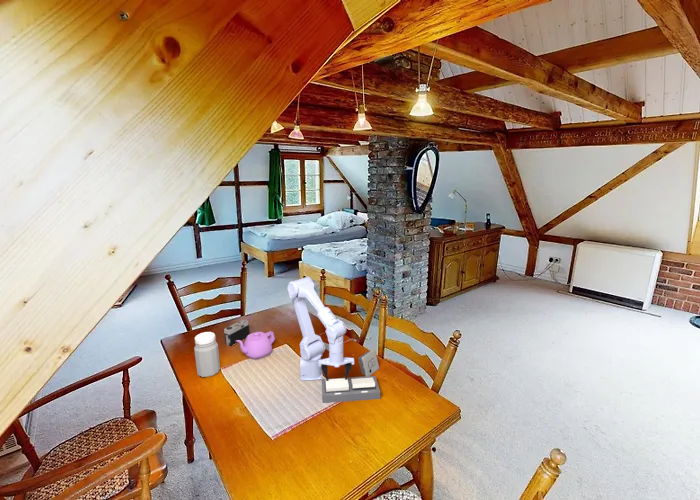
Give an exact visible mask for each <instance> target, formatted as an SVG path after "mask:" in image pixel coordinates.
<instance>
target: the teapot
mask: <svg viewBox="0 0 700 500" xmlns="http://www.w3.org/2000/svg"><path fill="white" fill-rule="evenodd" d="M244 340H245V341H244V343H243V340H242V341H241V340H236V341H237V342H238V343H239V346H240V347H239V348H240V351H241V352H242V353H244V354H245V356H247V357H248V358H249V359H251V360H259V359H262V358H265V357H267V356H269V355H270V354H271V352H272V351H273V347H272V344H273V343H274V342H275V340H276V338H275V334H274V332H273V331H272V330H270V331H268V332H263V331H256V332H252V333H250V334H249V335H248V336H247V337H246V338H245V339H244Z"/></svg>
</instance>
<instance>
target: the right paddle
mask: <svg viewBox="0 0 700 500" xmlns="http://www.w3.org/2000/svg"><path fill="white" fill-rule="evenodd" d="M351 383H352V387H353V388H365V387H375V382H374V379H373V378H358V379H351Z"/></svg>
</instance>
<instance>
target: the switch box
mask: <svg viewBox="0 0 700 500" xmlns="http://www.w3.org/2000/svg"><path fill="white" fill-rule="evenodd" d="M342 378H343V377H340V378H339V377H337V378H334V379H342ZM347 378H348V385H349V390H345V391H330V392H326V378H323V379H321V398H322V401H321V402H322V404H323V403H324V404H325V403H326V404H328V403H329V404H330V403H340V402H341V403H342V402H354V401H355V402H356V401H368V400H369V401H370V400H381V389H380V386H379V383H378V380H377V376H376V375H371V376H366V375H365V376H353V377H347ZM358 378H373V379H374V382H375V387H365V388H353V387H352V383H351V379H358Z"/></svg>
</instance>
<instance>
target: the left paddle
mask: <svg viewBox="0 0 700 500" xmlns="http://www.w3.org/2000/svg"><path fill="white" fill-rule="evenodd" d="M341 378H342V379H335V378H328V381H326V392H330V391H345V390H349V385H348V378H349V377H347V380H345V377H341Z"/></svg>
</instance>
